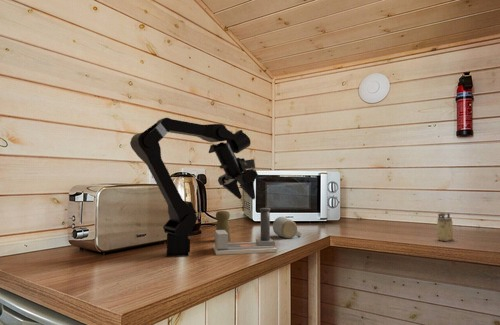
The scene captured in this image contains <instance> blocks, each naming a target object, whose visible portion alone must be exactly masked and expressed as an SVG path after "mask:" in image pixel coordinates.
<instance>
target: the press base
mask: <svg viewBox="0 0 500 325" xmlns="http://www.w3.org/2000/svg"><path fill="white" fill-rule="evenodd" d="M212 246H213V247H212V248H213V250H214V254H215V255H216V256H220V255H240V254H241V255H242V254H263V253H265V254H266V253H277V252H278V251H277V250H278V248H276V246H258V245H257V244H256V241H248V242H247V241H245V242H228V233H227V232H226V231H225V230H216V229H215V230H214V244H213V245H212Z"/></svg>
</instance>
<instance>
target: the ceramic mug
mask: <svg viewBox="0 0 500 325" xmlns="http://www.w3.org/2000/svg"><path fill="white" fill-rule="evenodd" d="M272 230H273V233H274V234H275V235H276V236H279V237H281V238H284V239H292V238H294V237H295V236H298V237H300V238H301V237H302V235H303V233H302V232H300V231H298V225H297V224H296V222H295V221H293V220H292V219H289V218H287V217H285V216H278V217H277V218H276V219H274V221H273V223H272Z"/></svg>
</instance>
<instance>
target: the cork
mask: <svg viewBox="0 0 500 325" xmlns="http://www.w3.org/2000/svg"><path fill="white" fill-rule="evenodd" d="M230 214H231V213H230V212H229V211H227V210H219V211H217V212H216V213H215V219H216V228H215V230H225V231H226V232H227V233H228V243H231V241H232V238H231V232H230V224H229V223H230V222H229V219H231V218H230V217H231V215H230Z"/></svg>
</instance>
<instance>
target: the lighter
mask: <svg viewBox="0 0 500 325" xmlns="http://www.w3.org/2000/svg"><path fill="white" fill-rule="evenodd" d="M446 215H447V216H446ZM437 216H438V217H437V221H436V223H437V224H436V225H437V229H436V230H437V241H445V242H447V241H453V240H454V236H453V235H454V233H453V232H454V230H453V229H454V227H453V219H452V217H450V216H451V215H450V213H449V212H447V213H445V212H440V213H438V214H437ZM445 216H446V217H445Z"/></svg>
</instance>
